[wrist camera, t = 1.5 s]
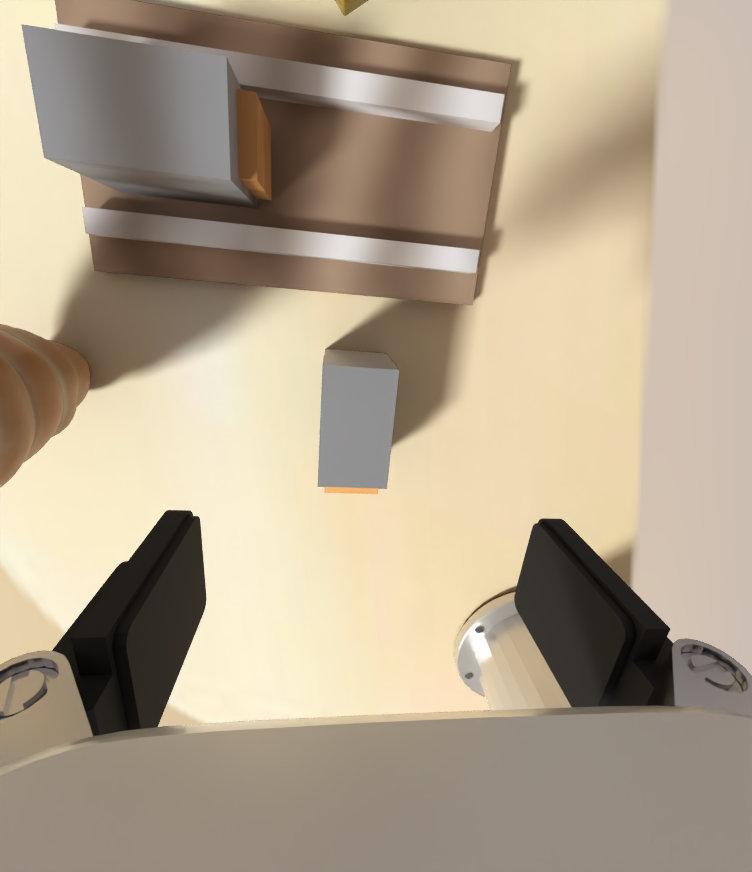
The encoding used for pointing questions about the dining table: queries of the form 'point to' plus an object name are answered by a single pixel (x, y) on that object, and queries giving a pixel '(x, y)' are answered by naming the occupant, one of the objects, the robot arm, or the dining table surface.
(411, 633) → the dining table surface
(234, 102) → the rail mount
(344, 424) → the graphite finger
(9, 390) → the cat ice cream
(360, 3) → the medication box
